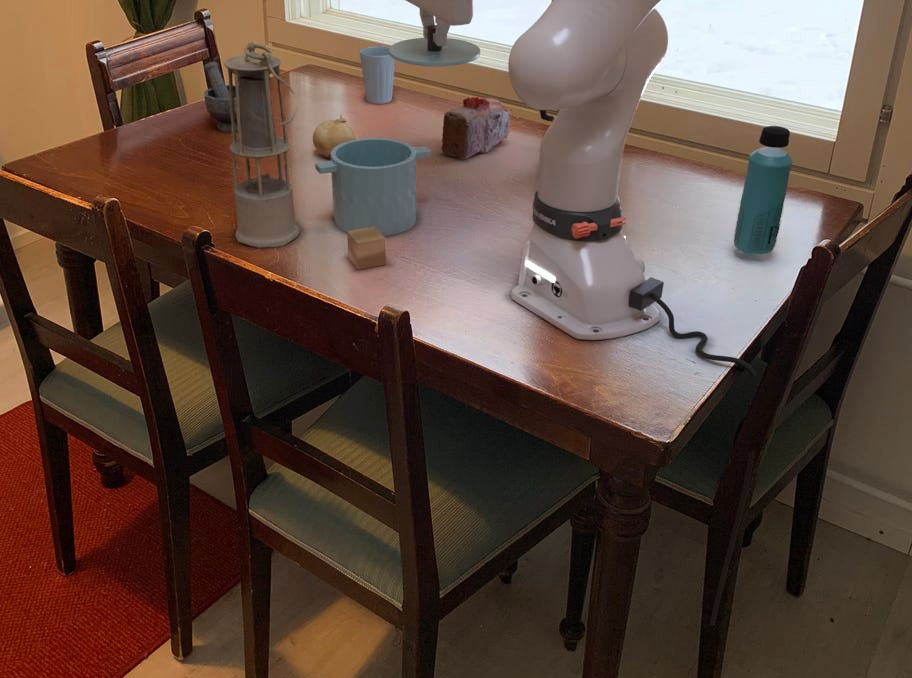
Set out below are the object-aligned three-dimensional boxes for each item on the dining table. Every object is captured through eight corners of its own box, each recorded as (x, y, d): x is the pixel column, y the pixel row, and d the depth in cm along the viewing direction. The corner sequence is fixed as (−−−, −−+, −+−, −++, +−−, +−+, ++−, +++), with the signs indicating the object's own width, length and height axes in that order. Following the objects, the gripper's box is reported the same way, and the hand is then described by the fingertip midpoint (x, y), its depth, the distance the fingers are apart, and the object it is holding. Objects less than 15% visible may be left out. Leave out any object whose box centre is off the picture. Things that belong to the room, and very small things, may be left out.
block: (386, 264, 154) (385, 237, 151) (358, 270, 152) (357, 242, 149) (375, 252, 157) (374, 226, 154) (348, 258, 155) (346, 231, 153)
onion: (339, 165, 187) (337, 127, 183) (305, 156, 191) (302, 119, 187) (363, 152, 193) (362, 115, 189) (330, 144, 196) (328, 108, 192)
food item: (479, 134, 201) (481, 85, 195) (512, 143, 197) (514, 93, 191) (437, 153, 192) (437, 102, 187) (470, 163, 188) (472, 111, 183)
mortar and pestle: (265, 126, 204) (259, 66, 197) (227, 137, 199) (220, 76, 192) (232, 113, 211) (225, 55, 204) (194, 124, 205) (186, 64, 198)
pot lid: (496, 64, 159) (497, 33, 156) (411, 74, 154) (410, 43, 151) (455, 41, 170) (456, 12, 167) (375, 50, 165) (374, 20, 162)
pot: (444, 225, 165) (445, 158, 159) (335, 245, 159) (331, 176, 152) (411, 195, 176) (411, 131, 169) (308, 213, 169) (303, 147, 162)
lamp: (273, 215, 168) (257, 29, 151) (323, 239, 161) (311, 47, 144) (222, 233, 162) (199, 42, 145) (271, 259, 155) (252, 61, 138)
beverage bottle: (766, 267, 153) (793, 139, 142) (724, 257, 156) (747, 131, 145) (778, 251, 158) (806, 126, 147) (737, 241, 161) (761, 118, 149)
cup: (369, 107, 214) (368, 57, 208) (355, 97, 220) (354, 48, 214) (402, 103, 217) (401, 53, 211) (387, 93, 223) (386, 44, 217)
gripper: (485, -41, 146) (481, 56, 154) (427, -65, 161) (426, 24, 169) (445, -38, 144) (444, 60, 152) (391, -63, 159) (392, 28, 167)
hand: (434, 41), depth 161 cm, fingers closed on pot lid, 2 cm apart
